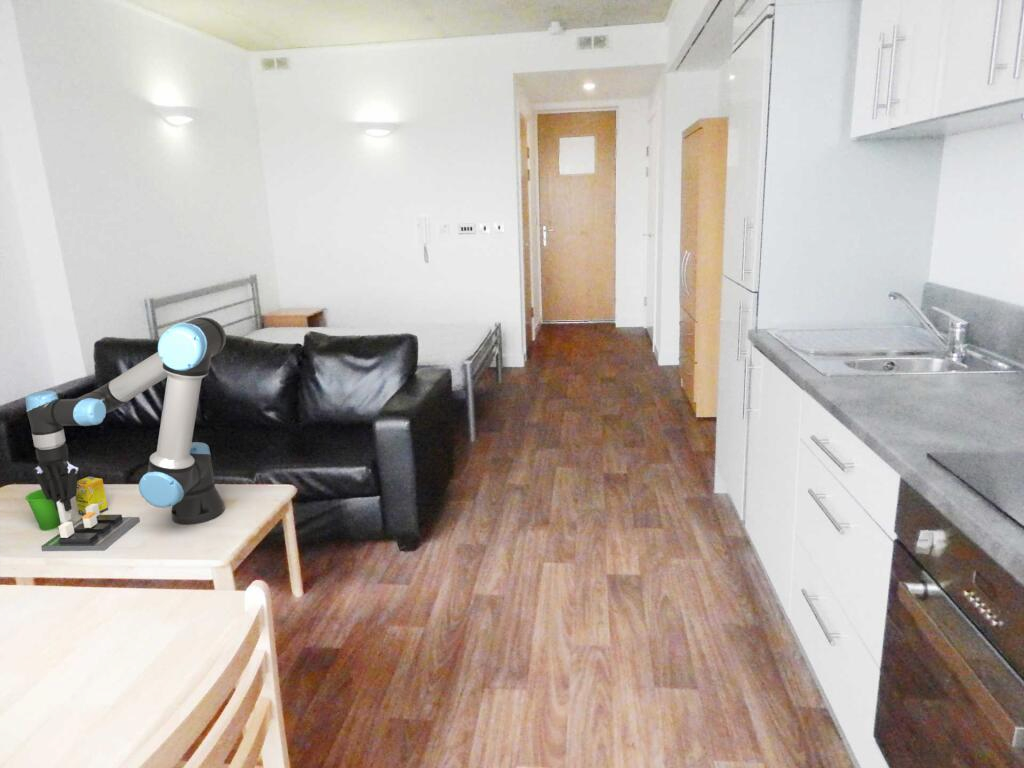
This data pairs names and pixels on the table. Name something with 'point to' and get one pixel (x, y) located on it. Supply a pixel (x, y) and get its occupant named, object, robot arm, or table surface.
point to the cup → (43, 510)
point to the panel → (92, 546)
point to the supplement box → (90, 494)
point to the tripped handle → (89, 519)
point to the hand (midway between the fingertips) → (66, 520)
